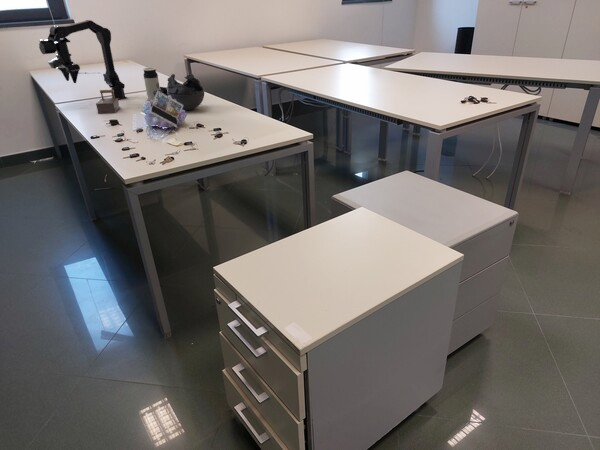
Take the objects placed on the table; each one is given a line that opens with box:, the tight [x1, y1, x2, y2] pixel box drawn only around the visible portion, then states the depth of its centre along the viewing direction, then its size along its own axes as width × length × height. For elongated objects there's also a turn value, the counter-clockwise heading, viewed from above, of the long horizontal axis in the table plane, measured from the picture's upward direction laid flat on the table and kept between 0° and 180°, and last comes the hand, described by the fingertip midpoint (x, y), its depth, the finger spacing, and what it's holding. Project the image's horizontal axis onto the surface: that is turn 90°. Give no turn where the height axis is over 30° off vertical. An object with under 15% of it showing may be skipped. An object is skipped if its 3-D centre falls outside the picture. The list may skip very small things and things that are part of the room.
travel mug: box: [142, 67, 161, 101], centre depth 250 cm, size 8×8×18 cm
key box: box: [95, 99, 120, 115], centre depth 231 cm, size 11×9×5 cm
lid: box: [95, 89, 118, 105], centre depth 229 cm, size 12×9×6 cm
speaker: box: [153, 86, 168, 97], centre depth 239 cm, size 8×6×10 cm
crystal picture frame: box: [142, 90, 187, 131], centre depth 204 cm, size 20×22×18 cm
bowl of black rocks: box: [166, 73, 205, 111], centre depth 230 cm, size 20×20×19 cm
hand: (71, 81), depth 232 cm, fingers open, 9 cm apart
